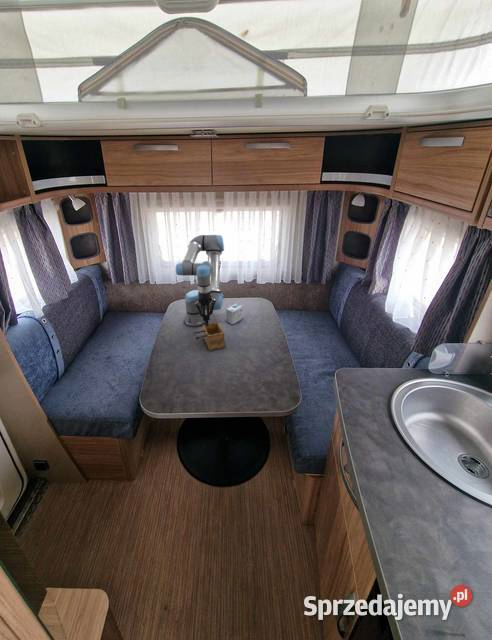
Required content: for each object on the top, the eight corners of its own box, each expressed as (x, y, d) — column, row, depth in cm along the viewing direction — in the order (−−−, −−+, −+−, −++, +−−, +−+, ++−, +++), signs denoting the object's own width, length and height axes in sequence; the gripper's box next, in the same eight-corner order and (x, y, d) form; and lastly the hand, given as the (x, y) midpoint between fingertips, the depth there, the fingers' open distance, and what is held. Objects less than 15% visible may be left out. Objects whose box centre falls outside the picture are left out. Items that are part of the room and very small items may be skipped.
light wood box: (224, 346, 180) (198, 353, 175) (218, 335, 191) (193, 341, 186) (224, 332, 176) (197, 338, 171) (217, 321, 187) (192, 327, 182)
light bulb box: (236, 315, 214) (235, 303, 209) (242, 318, 209) (242, 306, 205) (226, 321, 207) (225, 308, 202) (232, 324, 202) (232, 311, 198)
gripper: (195, 295, 162) (198, 330, 172) (216, 291, 166) (218, 325, 176) (192, 290, 169) (195, 323, 179) (213, 286, 172) (214, 319, 182)
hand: (206, 324), depth 177 cm, fingers closed
